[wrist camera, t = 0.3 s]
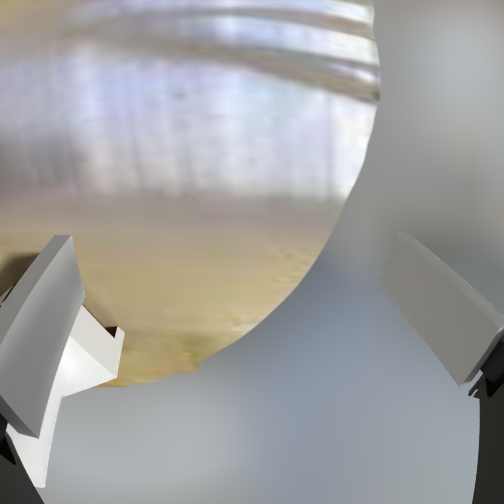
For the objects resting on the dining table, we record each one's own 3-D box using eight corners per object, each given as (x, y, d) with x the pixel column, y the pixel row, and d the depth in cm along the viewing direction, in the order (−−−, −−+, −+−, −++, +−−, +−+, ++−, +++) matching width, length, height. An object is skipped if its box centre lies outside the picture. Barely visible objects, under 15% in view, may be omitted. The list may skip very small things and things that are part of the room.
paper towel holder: (124, 333, 46) (105, 500, 20) (62, 362, 47) (33, 493, 21) (53, 251, 37) (-40, 418, 11) (-1, 297, 38) (-68, 426, 12)
